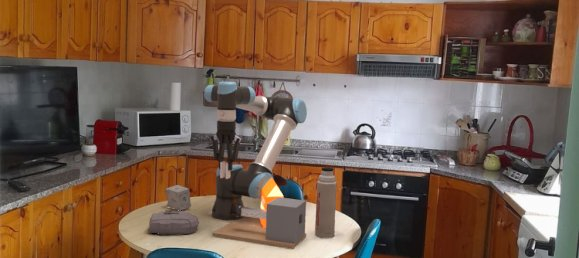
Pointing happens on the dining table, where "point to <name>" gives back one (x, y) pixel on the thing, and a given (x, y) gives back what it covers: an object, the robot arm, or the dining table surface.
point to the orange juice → (269, 196)
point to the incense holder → (178, 197)
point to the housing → (272, 225)
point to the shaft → (250, 212)
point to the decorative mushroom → (279, 180)
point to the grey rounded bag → (173, 222)
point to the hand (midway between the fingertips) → (225, 177)
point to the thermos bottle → (325, 204)
